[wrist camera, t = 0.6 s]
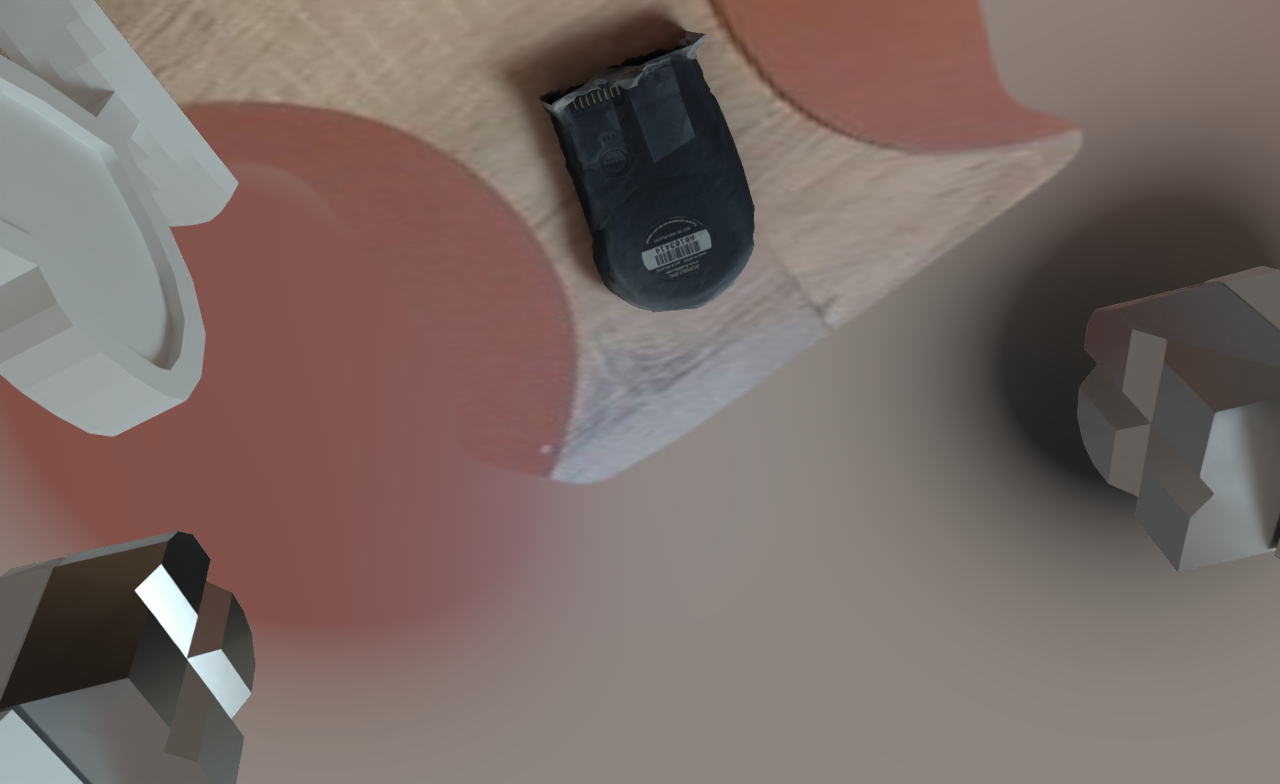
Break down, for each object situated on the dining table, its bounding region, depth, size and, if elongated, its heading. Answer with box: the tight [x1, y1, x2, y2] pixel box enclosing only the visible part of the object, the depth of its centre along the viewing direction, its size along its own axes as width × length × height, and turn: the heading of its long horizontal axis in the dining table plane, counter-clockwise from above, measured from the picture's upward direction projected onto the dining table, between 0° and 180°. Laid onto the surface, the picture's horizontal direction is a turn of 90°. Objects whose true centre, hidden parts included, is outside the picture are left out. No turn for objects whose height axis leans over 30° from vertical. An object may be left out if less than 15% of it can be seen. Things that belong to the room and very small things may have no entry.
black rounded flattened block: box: [538, 31, 754, 312], centre depth 55 cm, size 9×6×15 cm
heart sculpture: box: [0, 0, 238, 436], centre depth 42 cm, size 16×5×18 cm, turn 25°
